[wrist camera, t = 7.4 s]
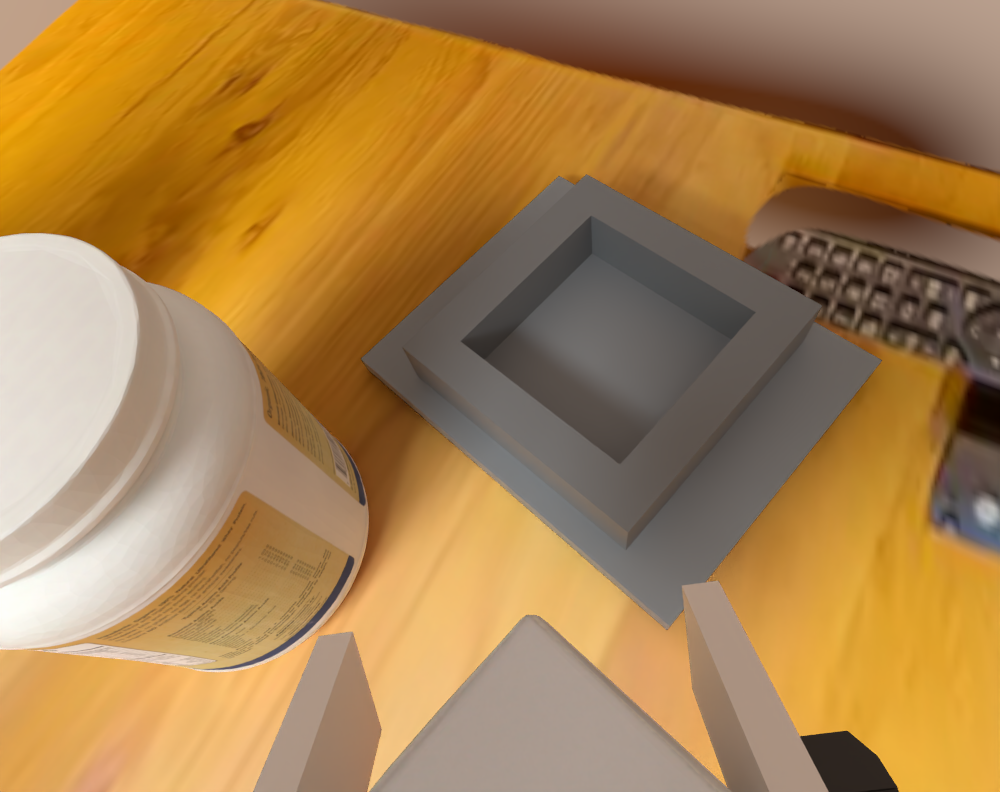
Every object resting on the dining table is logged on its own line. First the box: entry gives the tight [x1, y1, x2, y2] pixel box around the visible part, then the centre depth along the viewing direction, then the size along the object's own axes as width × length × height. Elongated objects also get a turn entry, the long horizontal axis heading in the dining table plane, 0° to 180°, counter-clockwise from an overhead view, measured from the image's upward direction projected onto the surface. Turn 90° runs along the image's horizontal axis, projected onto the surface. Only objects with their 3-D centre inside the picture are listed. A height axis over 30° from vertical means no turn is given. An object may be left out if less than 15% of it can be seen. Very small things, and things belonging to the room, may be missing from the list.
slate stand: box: [361, 174, 882, 630], centre depth 31 cm, size 20×16×4 cm
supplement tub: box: [0, 233, 369, 672], centre depth 24 cm, size 12×12×17 cm
